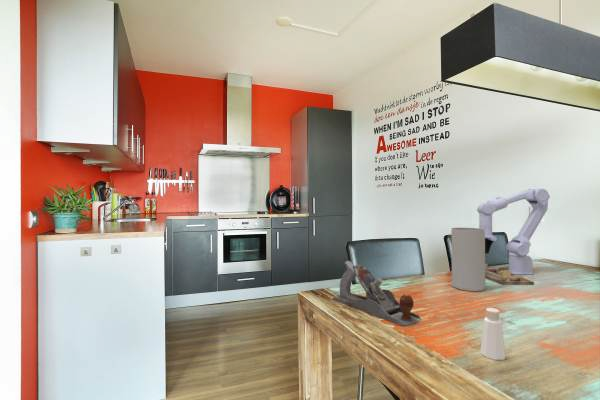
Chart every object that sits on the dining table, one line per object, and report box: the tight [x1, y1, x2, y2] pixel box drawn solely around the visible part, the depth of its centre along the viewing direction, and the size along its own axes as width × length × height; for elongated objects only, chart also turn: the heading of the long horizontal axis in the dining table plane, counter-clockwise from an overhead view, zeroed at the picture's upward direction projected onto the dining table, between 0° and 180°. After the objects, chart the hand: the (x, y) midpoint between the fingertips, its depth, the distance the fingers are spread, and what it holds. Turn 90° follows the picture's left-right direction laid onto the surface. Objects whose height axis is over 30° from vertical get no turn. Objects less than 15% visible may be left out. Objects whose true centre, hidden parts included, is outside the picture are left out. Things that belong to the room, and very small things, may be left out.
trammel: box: [485, 263, 509, 282], centre depth 150 cm, size 9×21×4 cm, turn 0°
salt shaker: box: [479, 307, 507, 361], centre depth 77 cm, size 5×5×11 cm
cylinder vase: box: [451, 227, 486, 292], centre depth 135 cm, size 12×12×25 cm
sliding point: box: [499, 269, 524, 280], centre depth 141 cm, size 9×2×4 cm, turn 90°
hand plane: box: [331, 260, 422, 328], centre depth 109 cm, size 9×33×15 cm, turn 35°
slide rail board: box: [485, 270, 535, 286], centre depth 150 cm, size 14×22×1 cm, turn 0°
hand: (485, 253), depth 162 cm, fingers closed
